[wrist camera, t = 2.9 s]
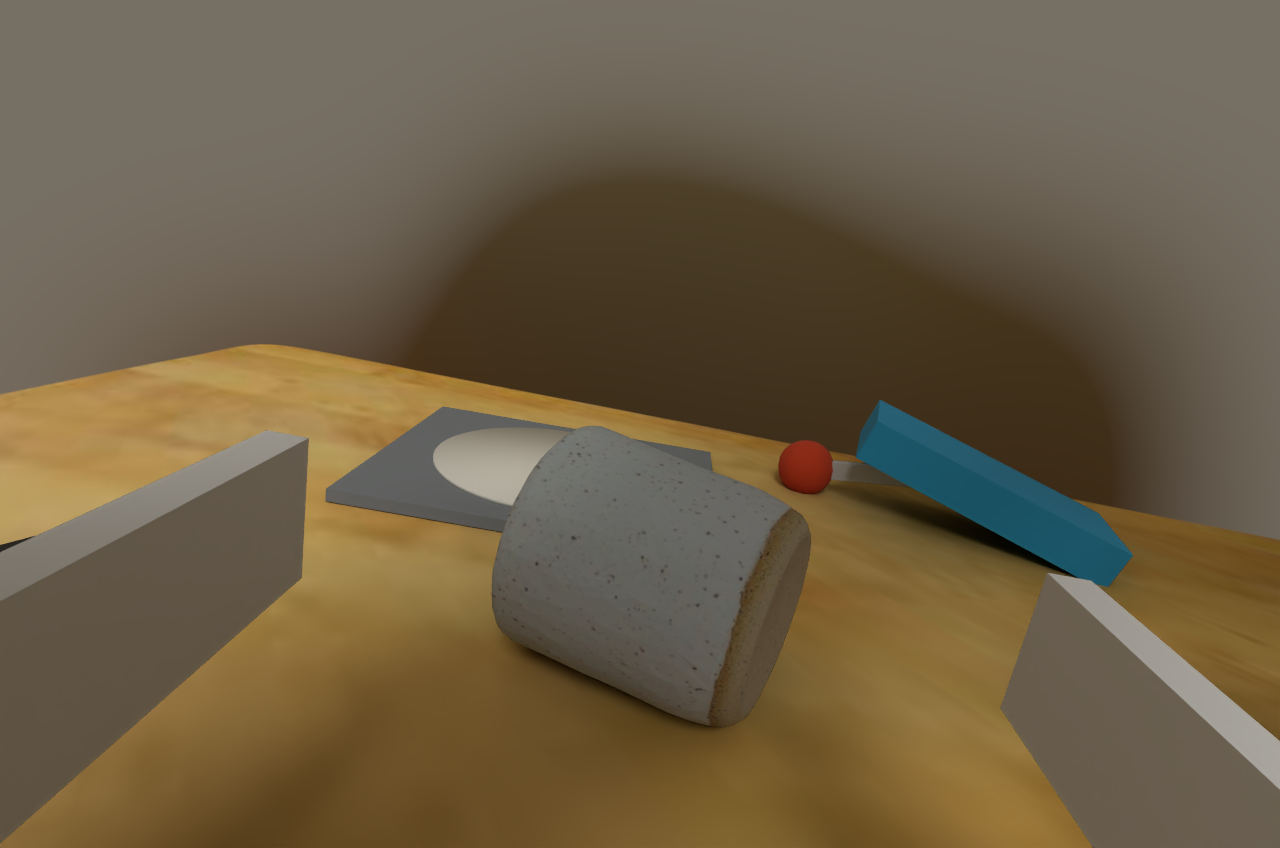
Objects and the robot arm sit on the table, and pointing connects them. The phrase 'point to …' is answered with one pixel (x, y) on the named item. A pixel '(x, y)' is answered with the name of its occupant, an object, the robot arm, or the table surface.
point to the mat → (460, 468)
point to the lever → (966, 491)
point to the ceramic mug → (651, 574)
